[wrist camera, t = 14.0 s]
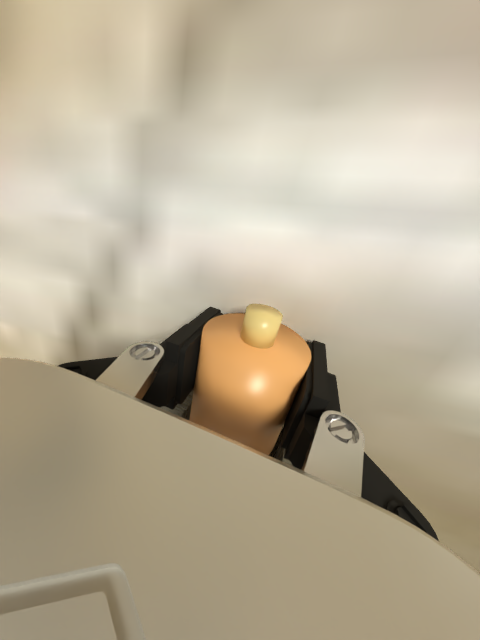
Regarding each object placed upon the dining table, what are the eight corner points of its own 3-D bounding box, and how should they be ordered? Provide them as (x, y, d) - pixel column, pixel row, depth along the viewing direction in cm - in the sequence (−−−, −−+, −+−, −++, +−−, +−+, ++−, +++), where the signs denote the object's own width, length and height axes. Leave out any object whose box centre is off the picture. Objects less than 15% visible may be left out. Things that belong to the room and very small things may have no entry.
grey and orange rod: (239, 514, 18) (217, 592, 14) (191, 489, 19) (159, 556, 15) (322, 310, 10) (324, 363, 6) (231, 282, 11) (182, 314, 7)
